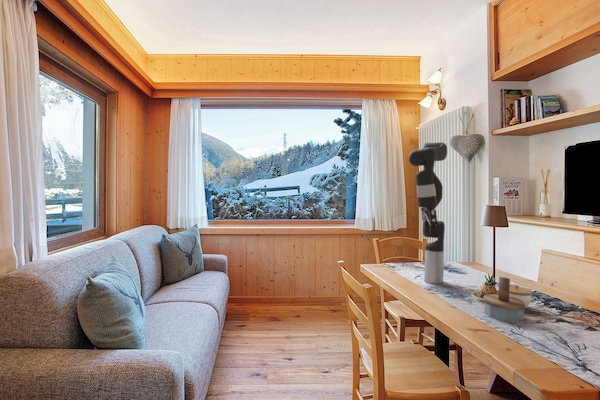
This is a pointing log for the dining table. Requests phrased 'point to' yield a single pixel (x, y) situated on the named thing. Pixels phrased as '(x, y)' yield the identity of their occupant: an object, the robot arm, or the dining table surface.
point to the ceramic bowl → (504, 313)
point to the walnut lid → (504, 297)
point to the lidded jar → (520, 294)
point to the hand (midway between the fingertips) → (430, 232)
